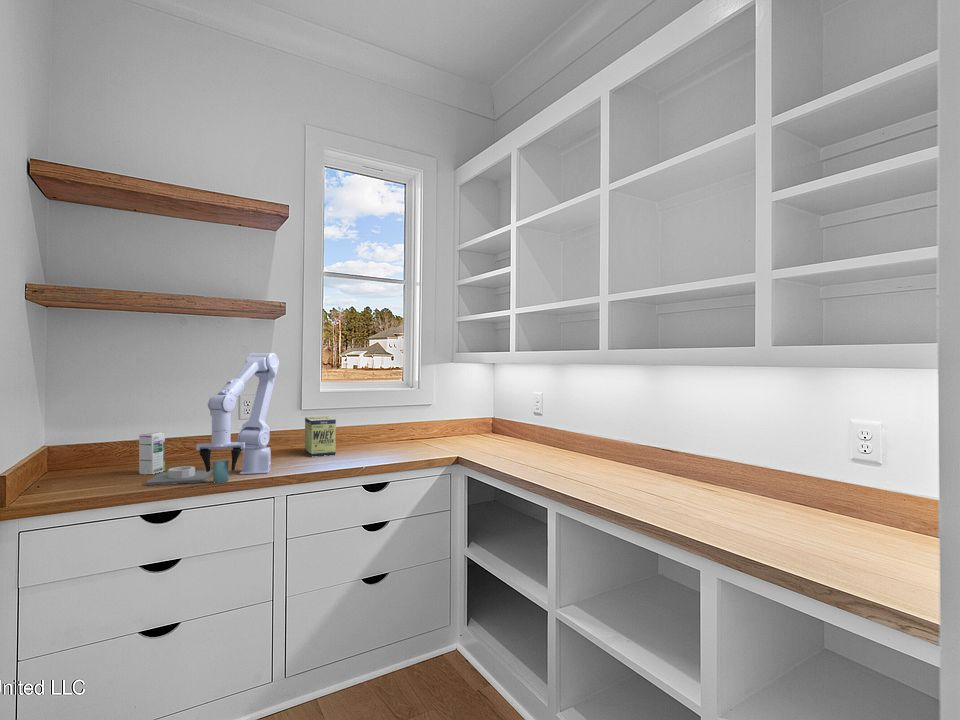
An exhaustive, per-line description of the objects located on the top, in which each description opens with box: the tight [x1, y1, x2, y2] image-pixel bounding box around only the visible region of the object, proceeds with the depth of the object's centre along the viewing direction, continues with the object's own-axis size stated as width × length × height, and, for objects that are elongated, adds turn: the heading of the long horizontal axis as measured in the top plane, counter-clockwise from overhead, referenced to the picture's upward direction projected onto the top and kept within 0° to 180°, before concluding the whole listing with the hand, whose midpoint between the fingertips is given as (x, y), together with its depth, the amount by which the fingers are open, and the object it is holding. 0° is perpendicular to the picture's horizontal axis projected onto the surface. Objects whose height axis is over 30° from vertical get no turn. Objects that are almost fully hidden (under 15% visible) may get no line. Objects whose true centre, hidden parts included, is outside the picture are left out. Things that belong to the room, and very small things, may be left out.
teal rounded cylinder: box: [213, 459, 229, 484], centre depth 173 cm, size 4×4×7 cm
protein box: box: [304, 416, 337, 458], centre depth 227 cm, size 10×16×16 cm
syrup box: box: [138, 431, 166, 475], centre depth 186 cm, size 6×6×14 cm
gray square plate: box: [144, 465, 214, 486], centre depth 177 cm, size 17×16×4 cm
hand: (220, 470), depth 172 cm, fingers open, 7 cm apart
